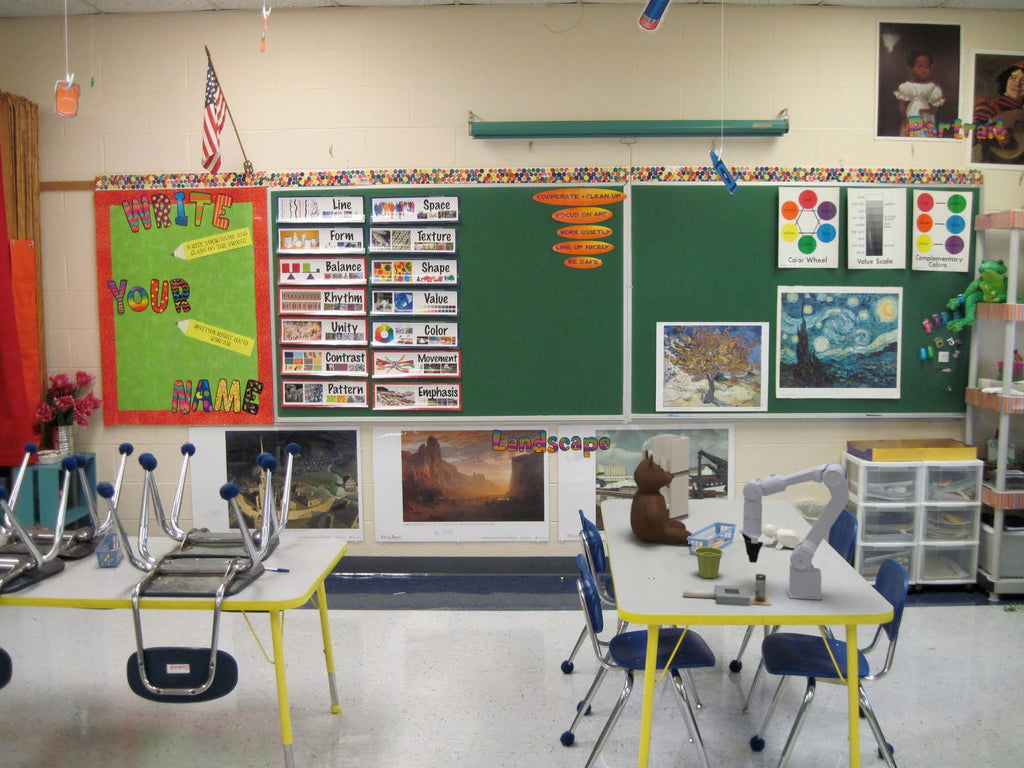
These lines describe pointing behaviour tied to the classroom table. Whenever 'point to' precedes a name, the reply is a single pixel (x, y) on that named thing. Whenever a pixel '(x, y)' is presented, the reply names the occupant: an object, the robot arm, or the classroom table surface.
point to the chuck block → (723, 595)
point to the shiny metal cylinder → (760, 587)
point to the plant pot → (708, 561)
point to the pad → (753, 602)
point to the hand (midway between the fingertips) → (751, 558)
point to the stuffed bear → (654, 507)
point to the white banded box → (674, 472)
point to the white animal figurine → (782, 536)
